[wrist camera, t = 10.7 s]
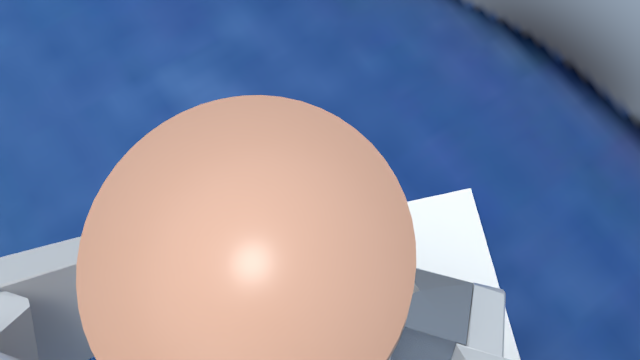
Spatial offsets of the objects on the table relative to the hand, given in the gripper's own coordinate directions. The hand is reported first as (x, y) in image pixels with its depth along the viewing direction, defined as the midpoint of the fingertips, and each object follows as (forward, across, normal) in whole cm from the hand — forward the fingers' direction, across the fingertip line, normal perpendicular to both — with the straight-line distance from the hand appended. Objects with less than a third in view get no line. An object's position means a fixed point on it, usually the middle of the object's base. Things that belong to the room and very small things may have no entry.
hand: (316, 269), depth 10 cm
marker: (+3, 0, +4) cm, 5 cm away
